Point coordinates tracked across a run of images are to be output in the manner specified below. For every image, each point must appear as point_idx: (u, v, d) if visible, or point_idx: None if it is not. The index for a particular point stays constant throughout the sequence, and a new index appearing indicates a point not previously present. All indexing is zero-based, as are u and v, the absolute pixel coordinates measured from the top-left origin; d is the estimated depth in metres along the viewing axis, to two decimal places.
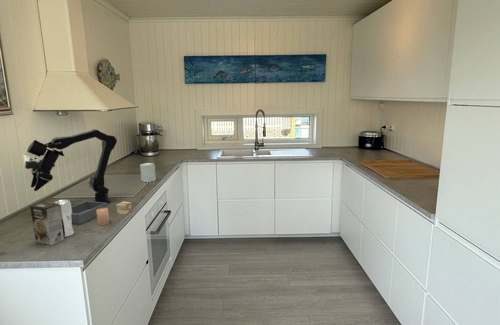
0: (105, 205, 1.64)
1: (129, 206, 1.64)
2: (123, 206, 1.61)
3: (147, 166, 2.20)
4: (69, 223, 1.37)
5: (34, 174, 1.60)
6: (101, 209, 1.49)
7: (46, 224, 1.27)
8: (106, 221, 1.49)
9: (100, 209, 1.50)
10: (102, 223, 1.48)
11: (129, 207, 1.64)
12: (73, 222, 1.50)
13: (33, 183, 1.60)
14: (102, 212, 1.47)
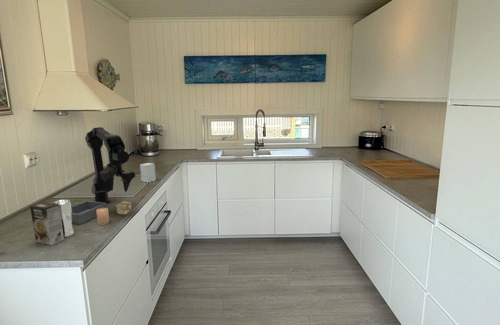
0: (105, 205, 1.64)
1: (129, 206, 1.64)
2: (123, 206, 1.61)
3: (147, 166, 2.20)
4: (69, 223, 1.37)
5: (107, 179, 1.60)
6: (101, 209, 1.49)
7: (46, 224, 1.27)
8: (106, 221, 1.49)
9: (100, 209, 1.50)
10: (102, 223, 1.48)
11: (129, 207, 1.64)
12: (73, 222, 1.50)
13: (111, 186, 1.62)
14: (102, 212, 1.47)
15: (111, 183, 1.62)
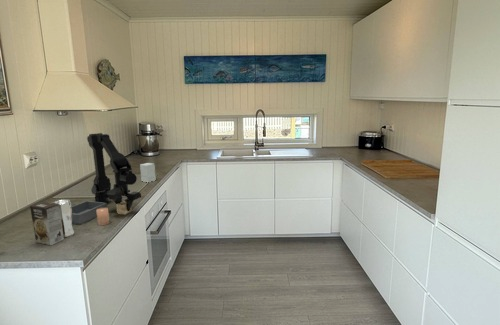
0: (105, 205, 1.64)
1: None
2: (123, 206, 1.61)
3: (147, 166, 2.20)
4: (69, 223, 1.37)
5: None
6: (101, 209, 1.49)
7: (46, 224, 1.27)
8: (106, 221, 1.49)
9: (100, 209, 1.50)
10: (102, 223, 1.48)
11: None
12: (73, 222, 1.50)
13: None
14: (102, 212, 1.47)
15: None
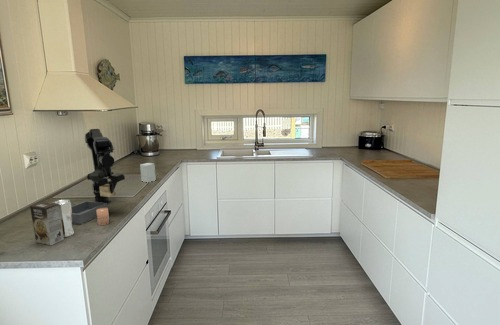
0: (105, 205, 1.64)
1: None
2: (106, 188, 1.59)
3: (147, 166, 2.20)
4: (69, 223, 1.37)
5: (99, 181, 1.60)
6: (101, 209, 1.49)
7: (46, 224, 1.27)
8: (106, 221, 1.49)
9: (100, 209, 1.50)
10: (102, 223, 1.48)
11: None
12: (73, 222, 1.50)
13: None
14: (102, 212, 1.47)
15: None
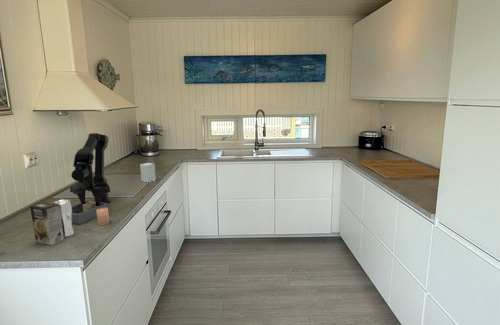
0: (105, 205, 1.64)
1: (96, 206, 1.63)
2: (89, 206, 1.60)
3: (147, 166, 2.20)
4: (69, 223, 1.37)
5: (78, 193, 1.62)
6: (101, 209, 1.49)
7: (46, 224, 1.27)
8: (106, 221, 1.49)
9: (100, 209, 1.50)
10: (102, 223, 1.48)
11: None
12: (73, 222, 1.50)
13: (83, 200, 1.64)
14: (102, 212, 1.47)
15: (83, 197, 1.64)
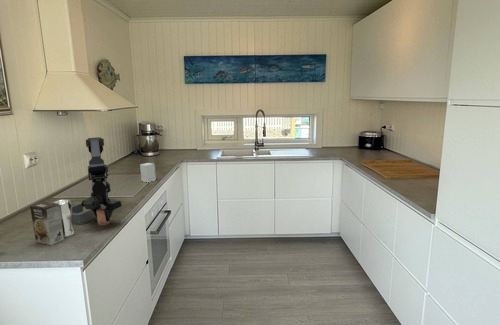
0: None
1: None
2: None
3: (147, 166, 2.20)
4: (69, 223, 1.37)
5: (94, 208, 1.49)
6: (101, 209, 1.49)
7: (46, 224, 1.27)
8: (106, 221, 1.49)
9: (100, 209, 1.50)
10: (102, 223, 1.48)
11: None
12: (73, 222, 1.50)
13: None
14: (102, 212, 1.47)
15: None
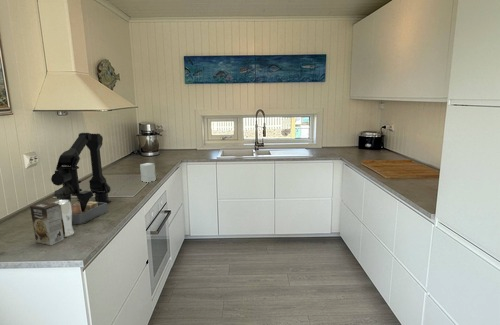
0: (105, 205, 1.64)
1: (96, 206, 1.63)
2: (89, 206, 1.60)
3: (147, 166, 2.20)
4: (69, 223, 1.37)
5: None
6: (74, 205, 1.54)
7: (46, 224, 1.27)
8: None
9: (73, 205, 1.54)
10: None
11: None
12: (73, 222, 1.50)
13: None
14: (74, 207, 1.52)
15: None
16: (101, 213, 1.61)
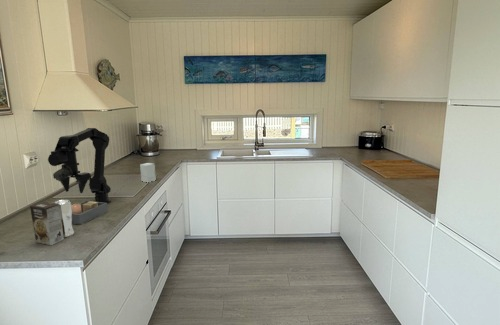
0: (105, 205, 1.64)
1: (96, 206, 1.63)
2: (89, 206, 1.60)
3: (147, 166, 2.20)
4: (69, 223, 1.37)
5: (62, 180, 1.57)
6: (74, 205, 1.54)
7: (46, 224, 1.27)
8: None
9: (73, 205, 1.54)
10: None
11: None
12: (73, 222, 1.50)
13: (66, 187, 1.59)
14: (75, 207, 1.52)
15: (67, 184, 1.60)
16: (101, 213, 1.61)
